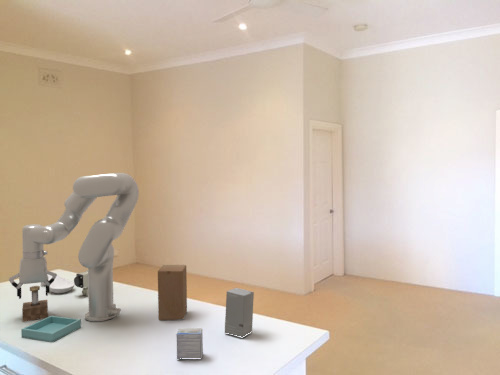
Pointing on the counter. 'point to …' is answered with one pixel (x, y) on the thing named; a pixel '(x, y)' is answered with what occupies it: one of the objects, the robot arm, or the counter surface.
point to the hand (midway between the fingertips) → (33, 296)
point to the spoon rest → (59, 284)
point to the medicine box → (189, 343)
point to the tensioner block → (35, 311)
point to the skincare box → (239, 312)
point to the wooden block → (172, 292)
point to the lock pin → (35, 295)
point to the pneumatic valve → (82, 282)
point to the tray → (51, 328)
